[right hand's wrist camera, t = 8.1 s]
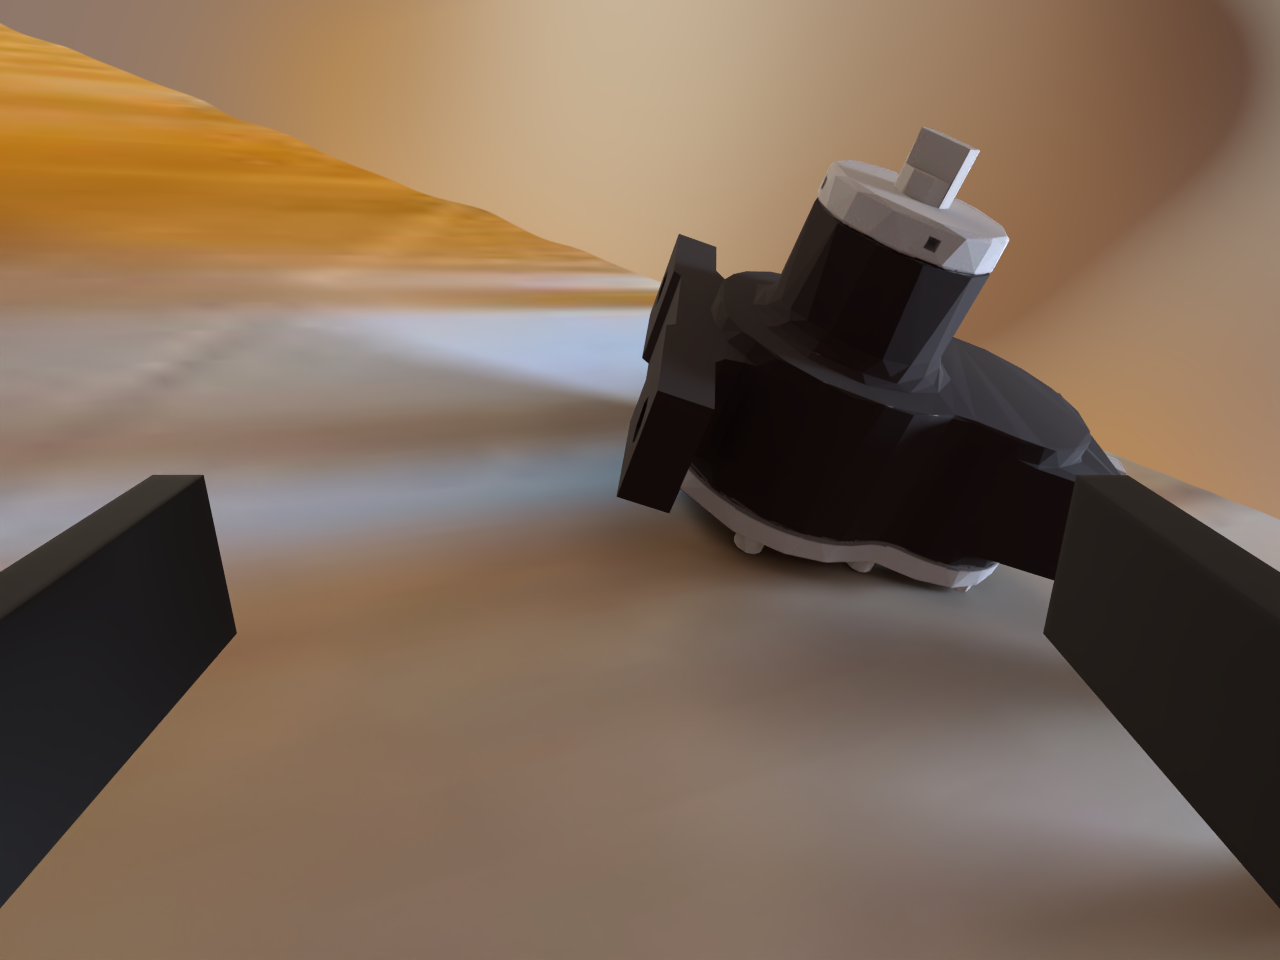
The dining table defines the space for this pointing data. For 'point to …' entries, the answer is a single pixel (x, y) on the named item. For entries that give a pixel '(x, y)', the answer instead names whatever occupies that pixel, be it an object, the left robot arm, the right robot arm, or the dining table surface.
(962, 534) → the mechanical component
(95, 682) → the right robot arm
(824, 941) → the dining table surface
